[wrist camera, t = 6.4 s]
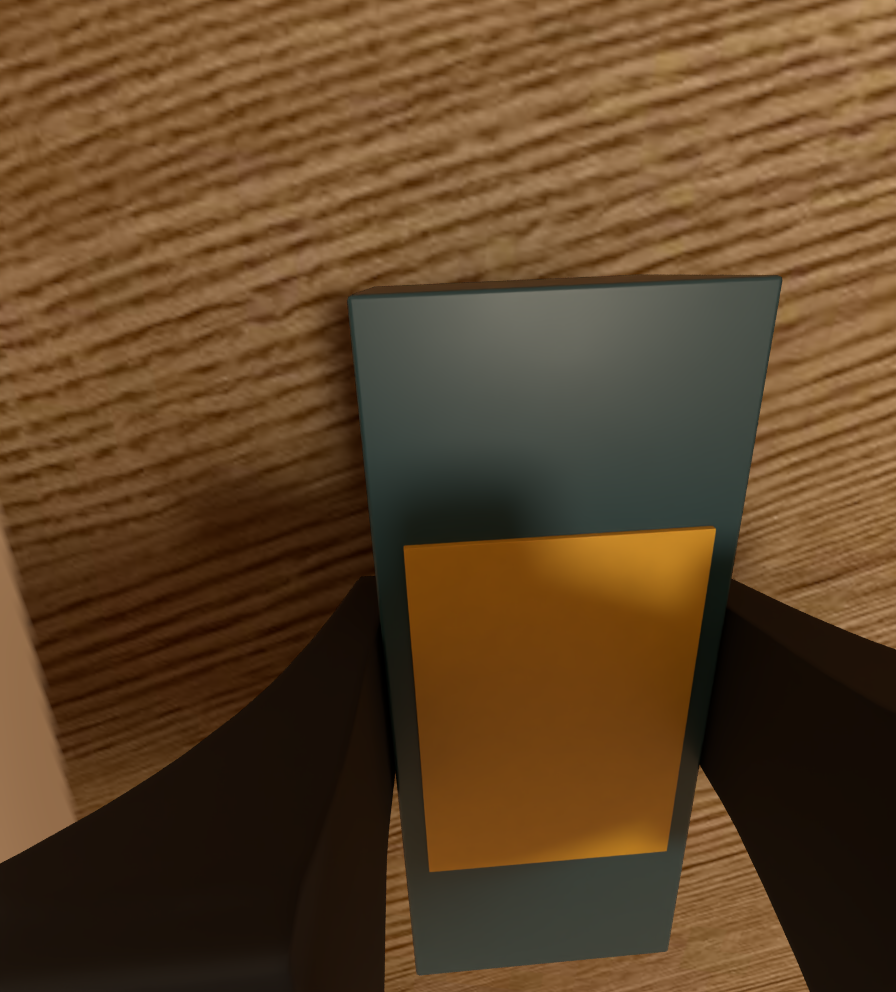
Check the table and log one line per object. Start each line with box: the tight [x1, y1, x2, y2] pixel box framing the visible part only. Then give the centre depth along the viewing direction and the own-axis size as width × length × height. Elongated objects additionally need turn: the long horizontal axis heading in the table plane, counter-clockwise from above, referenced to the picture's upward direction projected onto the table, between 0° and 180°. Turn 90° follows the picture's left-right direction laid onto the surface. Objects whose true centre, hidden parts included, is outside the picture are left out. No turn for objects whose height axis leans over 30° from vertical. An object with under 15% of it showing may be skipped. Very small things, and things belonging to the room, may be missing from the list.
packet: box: [347, 275, 782, 975], centre depth 10 cm, size 12×5×4 cm, turn 2°
